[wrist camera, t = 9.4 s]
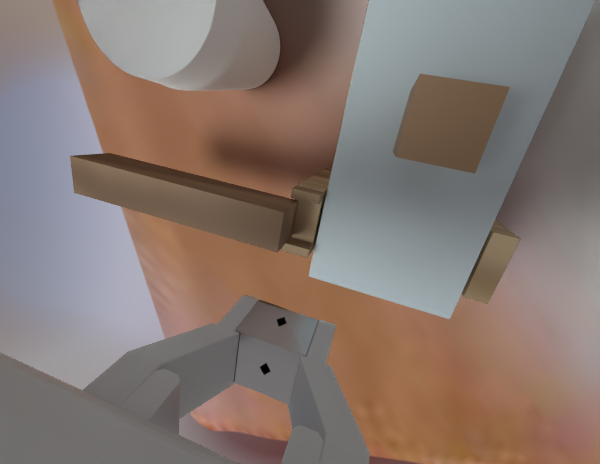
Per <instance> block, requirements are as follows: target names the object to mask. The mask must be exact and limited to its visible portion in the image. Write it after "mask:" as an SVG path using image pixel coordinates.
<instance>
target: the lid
mask: <svg viewBox="0 0 600 464" xmlns="http://www.w3.org/2000/svg"><path fill="white" fill-rule="evenodd" d="M595 1H596V0H369V3H368V7H367V12H366V17H365V21H364V26H363V30H362V35H361V39H360V44H359V49H358V53H357V58H356V62H355V67H354V71H353V76H352V80H351V85H350V90H349V94H348V99H347V103H346V108H345V112H344V117H343V122H342V126H341V131H340V135H339V140H338V144H337V149H336V153H335V158H334V163H333V167H332V172H331V176H330V181H329V185H328V190H327V195H326V199H325V204H324V208H323V213H322V217H321V222H320V227H319V231H318V236H317V240H316V245H315V249H314V254H313V258H312V263H311V268H310V272H309V277H313V278H316V279H319V280H322V281H326V282H329V283H332V284H336V285H339V286H342V287H345V288H349V289H352V290H355V291H359V292H362V293H365V294H368V295H372V296H375V297H378V298H382V299H385V300H388V301H391V302H395V303H398V304H401V305H405V306H408V307H411V308H414V309H418V310H421V311H424V312H427V313H431V314H434V315H437V316H441V317H444V318H447V319H450V317H451V315H452V313H453V311H454V308H455V306H456V304H457V302H458V300H459V298H460V295H461V293H462V291H463V289H464V287H465V284H466V282H467V280H468V278H469V276H470V274H471V271H472V269H473V267H474V265H475V263H476V260H477V258H478V256H479V254H480V252H481V250H482V247H483V245H484V243H485V241H486V239H487V236H488V234H489V232H490V230H491V228H492V226H493V223H494V221H495V219H496V217H497V215H498V212H499V210H500V208H501V206H502V204H503V202H504V199H505V197H506V195H507V193H508V191H509V188H510V186H511V184H512V182H513V180H514V178H515V175H516V173H517V171H518V169H519V167H520V164H521V162H522V160H523V158H524V156H525V154H526V151H527V149H528V147H529V145H530V143H531V140H532V138H533V136H534V134H535V132H536V129H537V127H538V125H539V123H540V121H541V119H542V116H543V114H544V112H545V110H546V108H547V105H548V103H549V101H550V99H551V97H552V95H553V92H554V90H555V88H556V86H557V84H558V81H559V79H560V77H561V75H562V73H563V71H564V68H565V66H566V64H567V62H568V60H569V57H570V55H571V53H572V51H573V49H574V47H575V44H576V42H577V40H578V38H579V36H580V33H581V31H582V29H583V27H584V25H585V23H586V20H587V18H588V16H589V14H590V12H591V9H592V7H593V5H594V3H595Z"/></svg>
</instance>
